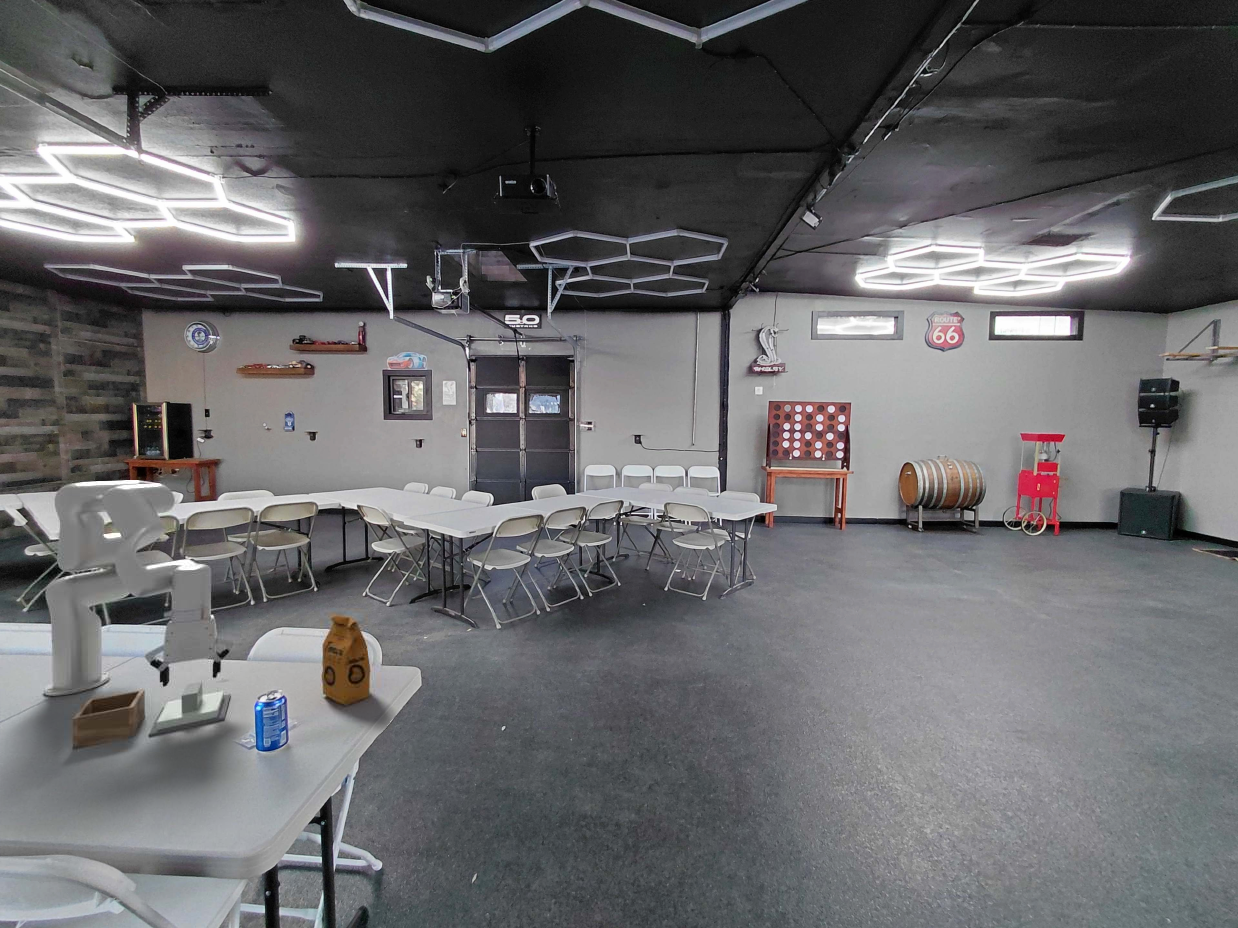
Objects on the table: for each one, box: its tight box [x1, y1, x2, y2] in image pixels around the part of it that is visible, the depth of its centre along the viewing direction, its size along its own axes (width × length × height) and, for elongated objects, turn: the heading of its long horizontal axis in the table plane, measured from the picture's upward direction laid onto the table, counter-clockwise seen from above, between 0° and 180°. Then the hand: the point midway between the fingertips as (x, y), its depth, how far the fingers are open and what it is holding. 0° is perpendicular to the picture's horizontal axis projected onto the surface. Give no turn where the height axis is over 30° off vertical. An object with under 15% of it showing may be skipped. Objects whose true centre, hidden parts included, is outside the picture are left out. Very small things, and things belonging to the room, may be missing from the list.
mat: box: [148, 693, 231, 737], centre depth 127 cm, size 14×14×1 cm
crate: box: [71, 689, 146, 750], centre depth 118 cm, size 10×10×7 cm
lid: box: [157, 681, 225, 730], centre depth 127 cm, size 11×11×6 cm
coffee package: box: [321, 614, 371, 706], centre depth 137 cm, size 10×12×22 cm
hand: (191, 679), depth 127 cm, fingers open, 9 cm apart
